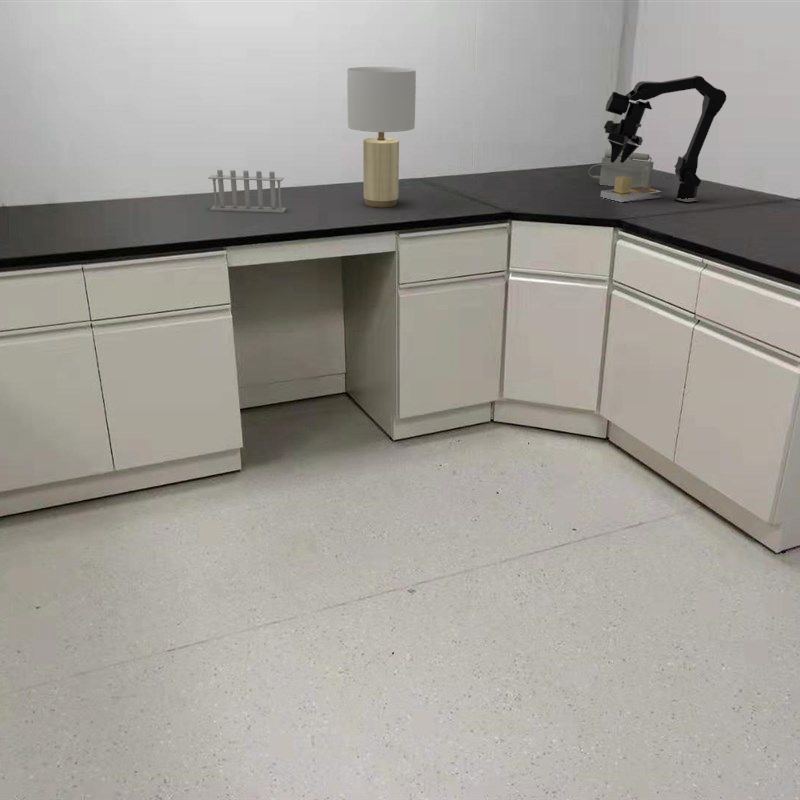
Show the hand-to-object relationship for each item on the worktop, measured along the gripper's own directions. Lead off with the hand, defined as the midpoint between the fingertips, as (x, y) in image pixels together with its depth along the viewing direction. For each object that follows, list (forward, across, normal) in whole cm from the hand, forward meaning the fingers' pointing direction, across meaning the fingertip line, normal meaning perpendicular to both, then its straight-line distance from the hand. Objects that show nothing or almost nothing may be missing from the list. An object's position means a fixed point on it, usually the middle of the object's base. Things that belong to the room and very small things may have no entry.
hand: (616, 162), depth 301 cm
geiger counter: (+12, -24, -5) cm, 27 cm away
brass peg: (+12, -4, +5) cm, 14 cm away
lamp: (+33, +59, -55) cm, 87 cm away
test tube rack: (+44, +94, -83) cm, 133 cm away
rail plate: (+11, -9, +7) cm, 16 cm away
